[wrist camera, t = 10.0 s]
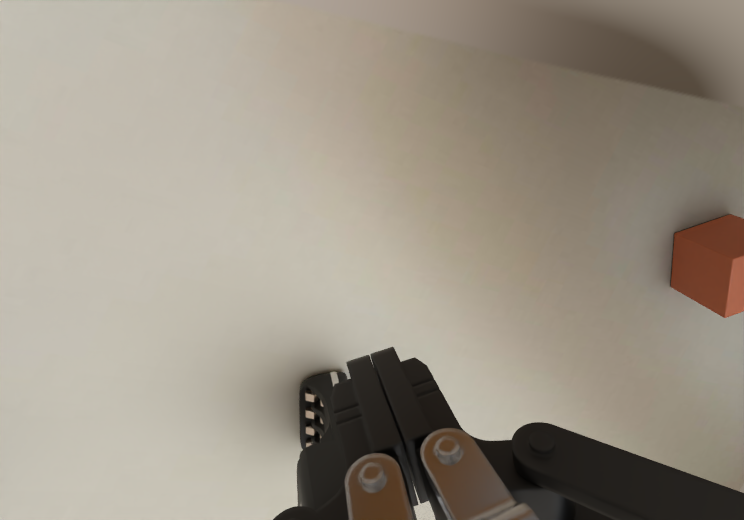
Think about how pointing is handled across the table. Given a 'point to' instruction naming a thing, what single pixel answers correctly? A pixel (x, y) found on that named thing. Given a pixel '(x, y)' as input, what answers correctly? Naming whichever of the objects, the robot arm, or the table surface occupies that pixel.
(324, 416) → the battery charger
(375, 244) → the table surface
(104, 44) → the table surface
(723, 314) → the block
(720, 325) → the table surface
